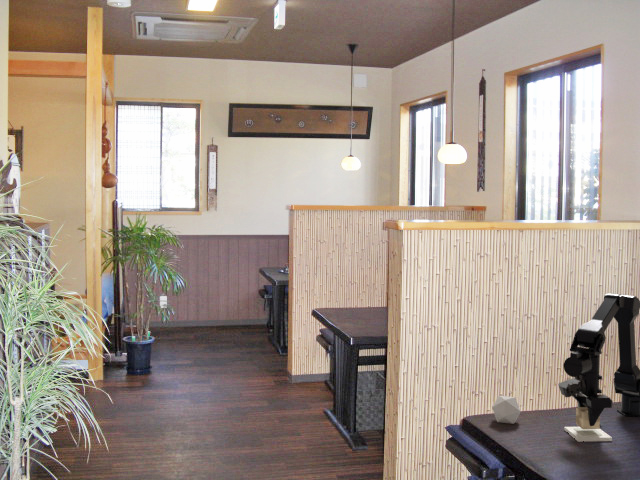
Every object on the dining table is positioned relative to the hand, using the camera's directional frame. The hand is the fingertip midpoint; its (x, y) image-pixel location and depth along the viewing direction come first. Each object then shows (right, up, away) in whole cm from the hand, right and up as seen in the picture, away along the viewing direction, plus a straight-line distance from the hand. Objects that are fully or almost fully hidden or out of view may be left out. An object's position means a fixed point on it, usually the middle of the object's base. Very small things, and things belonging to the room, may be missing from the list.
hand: (587, 422), depth 207 cm
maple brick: (0, -1, 0) cm, 1 cm away
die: (-21, -3, +13) cm, 25 cm away
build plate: (0, -4, 0) cm, 4 cm away
